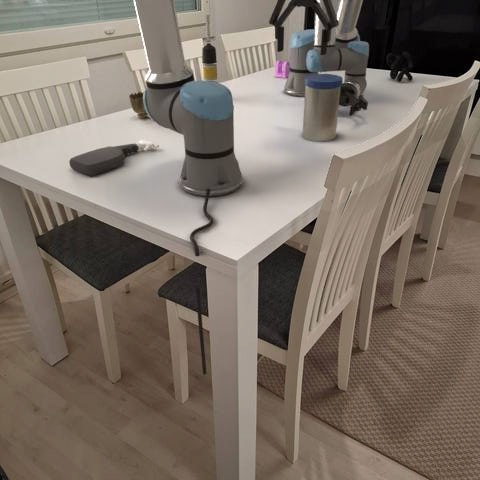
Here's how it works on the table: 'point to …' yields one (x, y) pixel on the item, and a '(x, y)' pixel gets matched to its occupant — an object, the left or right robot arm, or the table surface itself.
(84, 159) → the spray bottle
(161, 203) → the table surface
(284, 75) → the bracket
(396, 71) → the squiggle
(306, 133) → the jar
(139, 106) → the cup
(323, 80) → the lid
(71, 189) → the table surface
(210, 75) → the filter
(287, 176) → the table surface
